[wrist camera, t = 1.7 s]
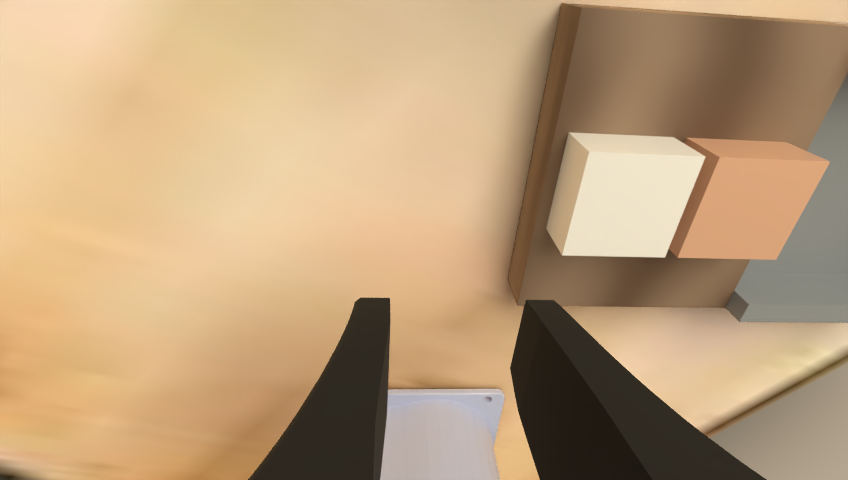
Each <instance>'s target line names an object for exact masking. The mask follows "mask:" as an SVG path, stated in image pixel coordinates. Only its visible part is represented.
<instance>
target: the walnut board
mask: <svg viewBox="0 0 848 480" xmlns="http://www.w3.org/2000/svg"><path fill="white" fill-rule="evenodd" d="M847 73H848V25H846V24H838V23H830V22H823V21H809V20H794V19H780V18H766V17H752V16H737V15H723V14H709V13H695V12H680V11H666V10H652V9H638V8H623V7H609V6H595V5H581V4H567V3H562V4H561V9H560V14H559V20H558V25H557V30H556V35H555V40H554V45H553V50H552V55H551V60H550V65H549V71H548V76H547V81H546V86H545V91H544V96H543V101H542V106H541V111H540V117H539V122H538V127H537V132H536V137H535V142H534V147H533V152H532V157H531V163H530V168H529V173H528V178H527V183H526V188H525V193H524V198H523V203H522V209H521V214H520V219H519V224H518V229H517V234H516V239H515V244H514V249H513V254H512V260H511V265H510V270H509V275H508V281H509V284H510V287H511V290H512V292H513V295H514V298H515V300H516V303H517V305H525V301H526V300H554V301H555V302H557V303H558V304H559V305H560V306H622V307H718V308H726V306H727V304H728V302H729V300H730V298H731V296H732V294H733V292H734V290H735V288H736V286H737V285H738V283H739V281H740V279H741V277H742V275H743V273H744V271H745V269H746V267H747V265H748V263H749V261H750V260H751V259H712V258H677V257H676V256H675V255H674V254H673V253H672V252H671V251H670V250H669V249H668V251H667V254H666V256H665V258H663V257H614V256H565V255H561V253H560V251H559V249H558V248H557V246H556V244H555V243H554V241H553V239H552V238H551V236H550V234H549V233H548V231H547V229H546V227H547V223H548V219H549V214H550V210H551V206H552V201H553V197H554V193H555V189H556V184H557V180H558V176H559V171H560V167H561V163H562V159H563V154H564V150H565V146H566V141H567V137H568V133H569V132H570V133H593V134H615V135H637V136H660V137H674V138H676V139H677V140H679V141H681V142H682V143H685V140H686V138H704V139H727V140H749V141H771V142H787V143H790V144H792V145H794V146H796V147H798V148H801V149H803V150H805V151H807V150H808V148H809V146H810V144H811V142H812V140H813V138H814V136H815V135H816V133H817V131H818V129H819V127H820V125H821V123H822V121H823V119H824V117H825V115H826V113H827V111H828V110H829V108H830V106H831V104H832V102H833V100H834V98H835V96H836V94H837V92H838V90H839V88H840V86H841V85H842V83H843V81H844V79H845V77H846V75H847Z"/></svg>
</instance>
